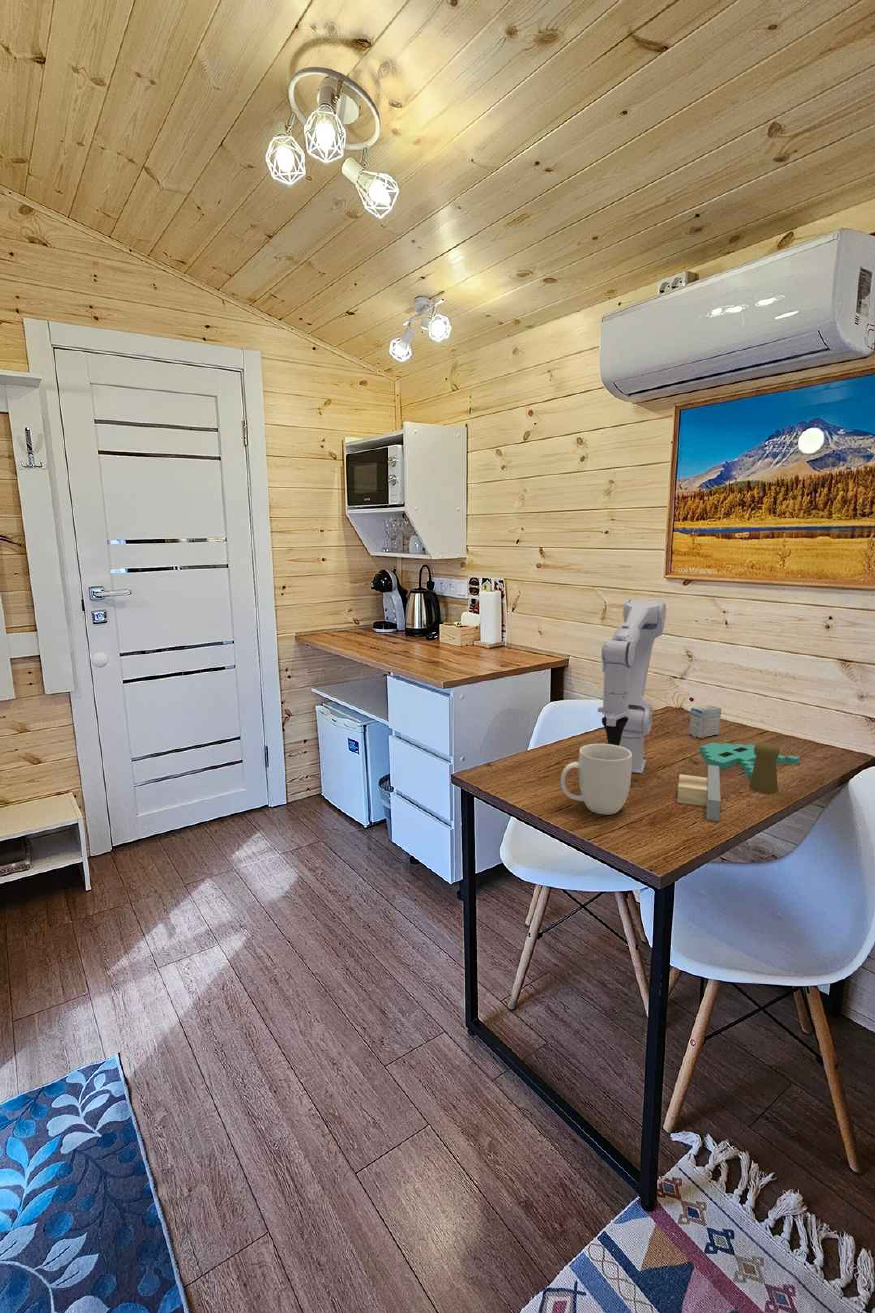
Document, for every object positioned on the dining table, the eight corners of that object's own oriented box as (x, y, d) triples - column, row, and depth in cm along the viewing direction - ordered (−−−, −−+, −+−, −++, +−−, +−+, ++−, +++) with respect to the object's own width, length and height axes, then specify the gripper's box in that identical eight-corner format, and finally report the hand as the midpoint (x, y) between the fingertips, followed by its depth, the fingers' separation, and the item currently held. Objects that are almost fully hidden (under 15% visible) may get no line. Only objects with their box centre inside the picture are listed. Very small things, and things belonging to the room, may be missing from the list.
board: (706, 782, 149) (708, 764, 149) (717, 784, 149) (719, 766, 148) (706, 819, 130) (707, 799, 129) (719, 821, 129) (720, 801, 128)
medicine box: (707, 731, 190) (709, 704, 188) (719, 735, 186) (721, 707, 184) (688, 735, 186) (690, 707, 185) (700, 739, 182) (702, 711, 181)
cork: (744, 783, 149) (748, 739, 147) (771, 784, 148) (775, 739, 146) (754, 793, 143) (758, 747, 141) (782, 794, 142) (786, 748, 140)
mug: (565, 819, 130) (566, 760, 128) (555, 798, 141) (557, 743, 139) (636, 819, 130) (639, 760, 128) (621, 798, 141) (623, 743, 139)
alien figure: (799, 765, 162) (727, 745, 178) (800, 757, 161) (728, 738, 178) (756, 782, 151) (684, 759, 167) (757, 773, 150) (684, 751, 167)
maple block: (678, 790, 146) (679, 774, 145) (706, 794, 143) (707, 777, 143) (677, 803, 138) (678, 786, 138) (706, 807, 136) (707, 790, 135)
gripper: (603, 683, 153) (601, 736, 155) (593, 697, 139) (591, 754, 142) (633, 686, 150) (630, 740, 152) (626, 699, 137) (623, 758, 139)
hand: (613, 747), depth 147 cm, fingers closed
